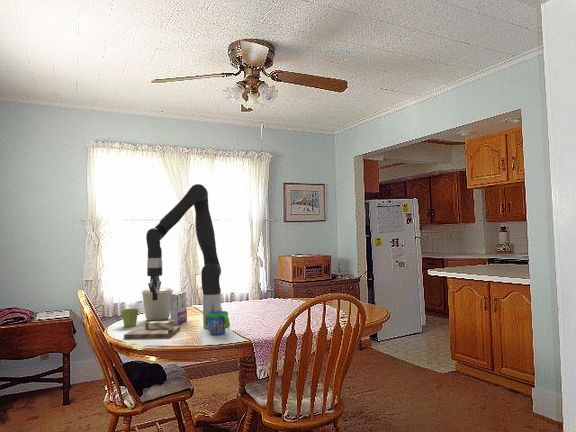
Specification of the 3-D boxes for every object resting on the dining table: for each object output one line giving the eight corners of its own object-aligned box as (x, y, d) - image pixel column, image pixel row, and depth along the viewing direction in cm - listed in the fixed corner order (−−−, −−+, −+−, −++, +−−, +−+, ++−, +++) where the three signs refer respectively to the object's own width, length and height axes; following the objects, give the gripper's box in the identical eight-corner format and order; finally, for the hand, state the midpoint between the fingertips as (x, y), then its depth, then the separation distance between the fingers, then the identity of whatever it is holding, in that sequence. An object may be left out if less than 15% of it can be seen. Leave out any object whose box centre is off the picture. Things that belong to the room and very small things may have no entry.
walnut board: (180, 330, 217) (179, 323, 217) (170, 337, 201) (169, 330, 202) (137, 331, 218) (137, 324, 218) (123, 338, 202) (123, 331, 202)
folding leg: (175, 327, 216) (175, 320, 216) (174, 328, 213) (174, 321, 213) (147, 327, 217) (147, 320, 217) (145, 329, 214) (145, 321, 214)
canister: (148, 316, 261) (147, 282, 262) (177, 316, 260) (177, 281, 261) (136, 322, 243) (136, 285, 244) (168, 322, 242) (167, 284, 243)
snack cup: (199, 333, 209) (198, 312, 210) (217, 329, 217) (217, 309, 217) (217, 338, 198) (217, 315, 199) (236, 334, 205) (235, 312, 206)
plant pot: (120, 325, 236) (120, 309, 237) (138, 323, 240) (138, 308, 240) (120, 328, 228) (120, 311, 228) (139, 326, 231) (139, 310, 231)
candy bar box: (179, 320, 245) (178, 291, 245) (187, 321, 244) (186, 291, 244) (169, 324, 234) (169, 294, 234) (178, 324, 233) (177, 294, 233)
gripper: (157, 267, 217) (157, 302, 216) (166, 265, 230) (166, 298, 229) (142, 267, 217) (143, 302, 216) (152, 266, 230) (152, 298, 229)
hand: (155, 300), depth 223 cm, fingers closed
